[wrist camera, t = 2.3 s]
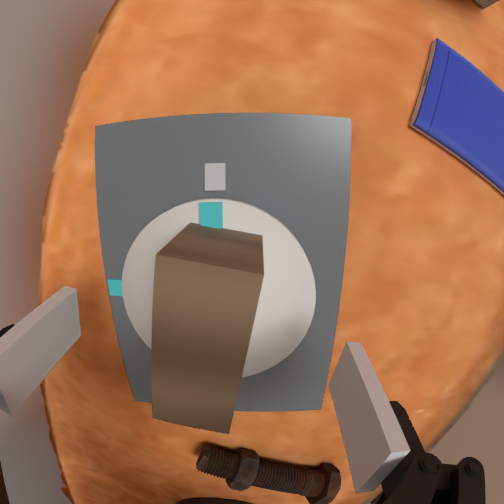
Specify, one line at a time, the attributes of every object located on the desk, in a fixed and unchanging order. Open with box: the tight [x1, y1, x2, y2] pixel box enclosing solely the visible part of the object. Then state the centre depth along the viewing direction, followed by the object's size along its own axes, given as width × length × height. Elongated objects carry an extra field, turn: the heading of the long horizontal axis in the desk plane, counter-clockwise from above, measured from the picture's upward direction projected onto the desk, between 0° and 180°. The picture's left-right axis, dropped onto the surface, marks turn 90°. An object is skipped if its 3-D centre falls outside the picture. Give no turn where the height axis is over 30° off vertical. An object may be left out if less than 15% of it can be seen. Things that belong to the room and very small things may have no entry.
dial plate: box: [95, 113, 351, 411], centre depth 20 cm, size 22×16×2 cm
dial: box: [122, 197, 316, 434], centre depth 16 cm, size 12×12×8 cm
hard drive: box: [409, 38, 504, 195], centre depth 16 cm, size 2×8×12 cm
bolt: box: [196, 445, 341, 504], centre depth 25 cm, size 6×5×15 cm
